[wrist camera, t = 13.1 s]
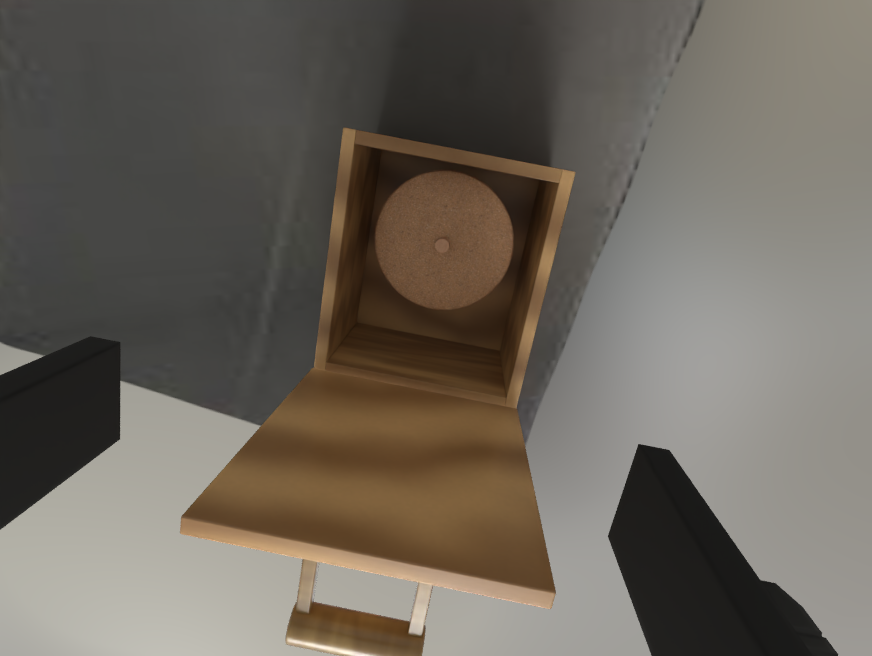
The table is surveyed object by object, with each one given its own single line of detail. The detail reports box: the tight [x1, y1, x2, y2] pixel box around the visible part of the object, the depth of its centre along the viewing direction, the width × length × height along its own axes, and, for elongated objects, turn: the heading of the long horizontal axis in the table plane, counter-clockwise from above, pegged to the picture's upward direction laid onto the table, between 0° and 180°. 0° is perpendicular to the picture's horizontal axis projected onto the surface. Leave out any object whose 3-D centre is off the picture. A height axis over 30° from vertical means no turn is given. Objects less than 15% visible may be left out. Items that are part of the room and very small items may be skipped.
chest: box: [314, 128, 575, 408], centre depth 43 cm, size 18×16×12 cm
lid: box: [180, 368, 556, 656], centre depth 32 cm, size 19×16×8 cm
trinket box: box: [374, 170, 514, 310], centre depth 43 cm, size 11×11×9 cm
